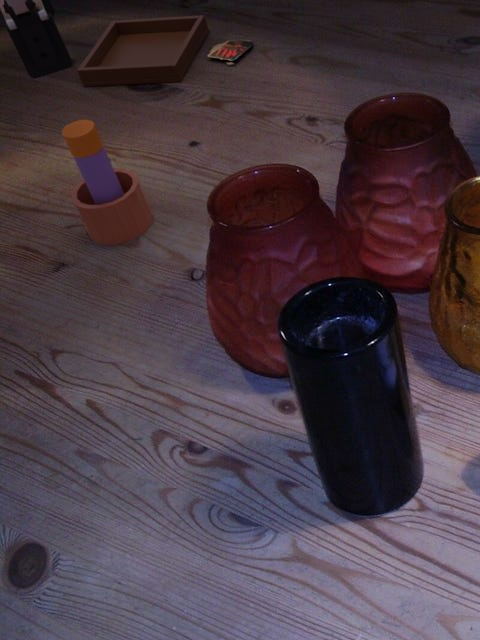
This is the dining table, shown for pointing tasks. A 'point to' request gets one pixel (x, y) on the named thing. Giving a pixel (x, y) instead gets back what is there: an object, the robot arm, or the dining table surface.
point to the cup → (115, 211)
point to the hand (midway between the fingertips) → (44, 44)
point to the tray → (144, 51)
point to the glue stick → (92, 161)
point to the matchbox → (230, 49)
